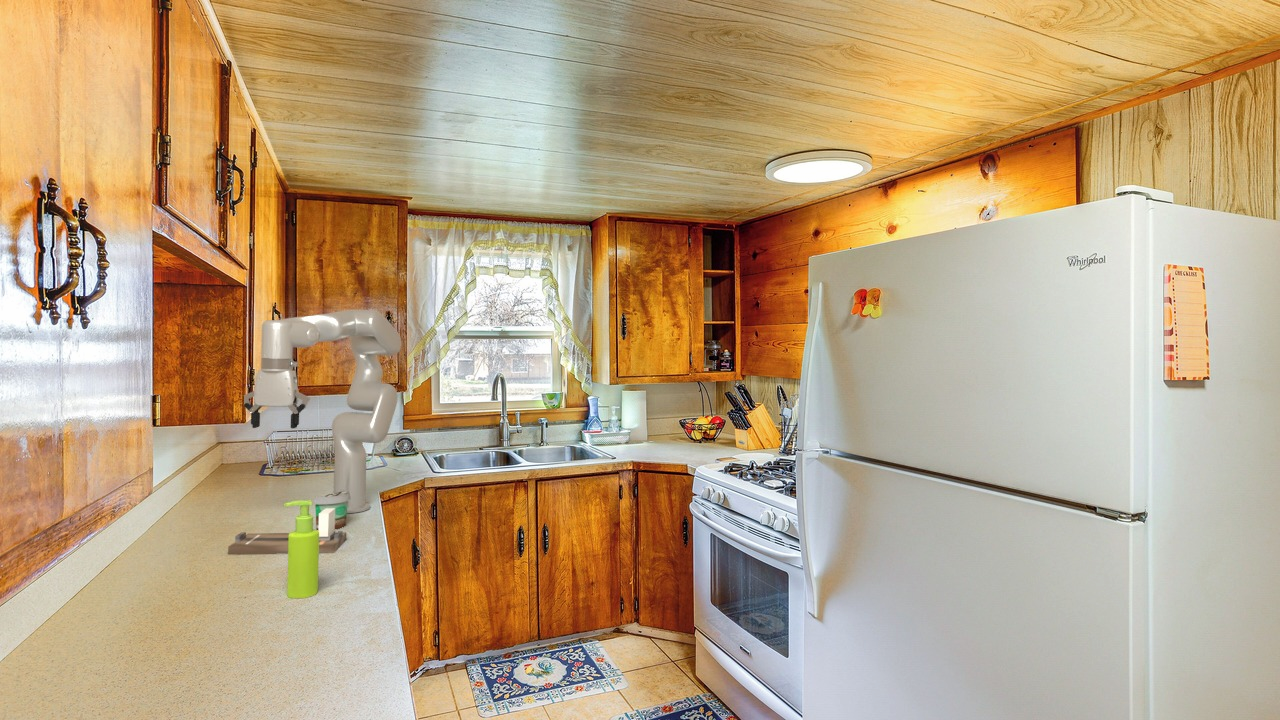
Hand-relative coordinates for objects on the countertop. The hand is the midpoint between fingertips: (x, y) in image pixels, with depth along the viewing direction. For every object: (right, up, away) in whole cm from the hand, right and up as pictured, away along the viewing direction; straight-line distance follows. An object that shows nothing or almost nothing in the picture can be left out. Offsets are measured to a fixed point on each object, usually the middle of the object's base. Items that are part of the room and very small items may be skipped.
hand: (275, 427), depth 182 cm
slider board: (+8, -31, -7) cm, 32 cm away
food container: (+11, -31, +13) cm, 35 cm away
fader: (+17, -29, -6) cm, 34 cm away
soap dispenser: (+27, -32, -40) cm, 58 cm away
